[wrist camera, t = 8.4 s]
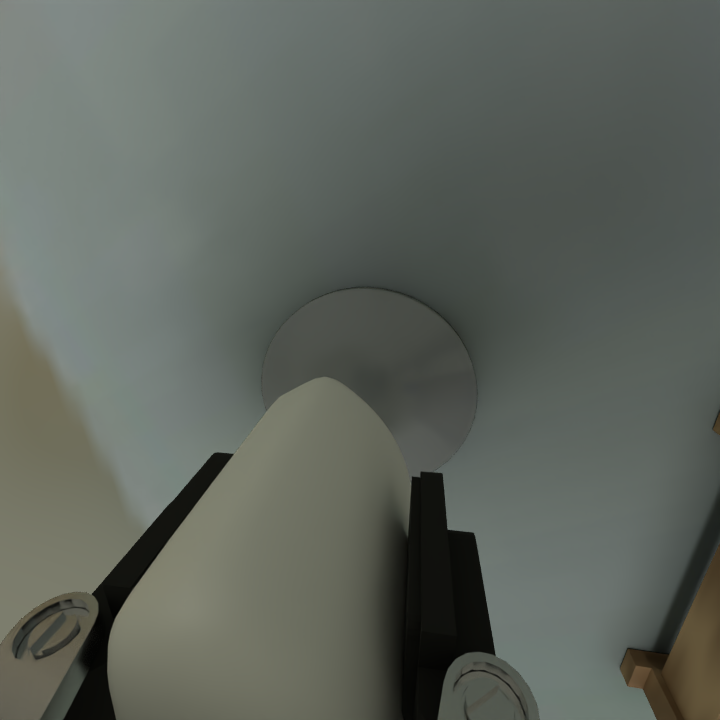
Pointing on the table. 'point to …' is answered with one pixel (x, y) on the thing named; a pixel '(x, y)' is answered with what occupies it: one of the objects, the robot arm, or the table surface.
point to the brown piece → (685, 659)
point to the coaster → (382, 367)
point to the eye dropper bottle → (279, 579)
